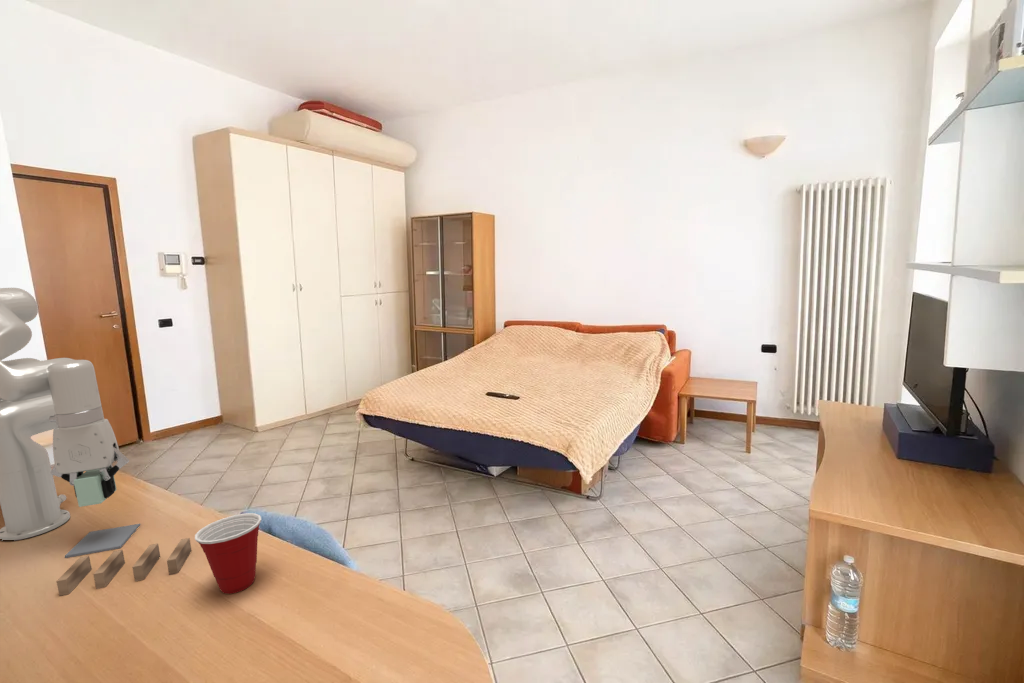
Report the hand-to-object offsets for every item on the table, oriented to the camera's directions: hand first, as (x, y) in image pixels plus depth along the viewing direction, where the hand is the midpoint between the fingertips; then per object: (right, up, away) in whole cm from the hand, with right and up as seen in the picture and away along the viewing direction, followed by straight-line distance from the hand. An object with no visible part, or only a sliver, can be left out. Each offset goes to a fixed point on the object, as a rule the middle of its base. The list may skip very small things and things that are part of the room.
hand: (97, 496), depth 108 cm
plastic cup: (+40, -12, -16) cm, 44 cm away
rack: (+15, -12, -10) cm, 22 cm away
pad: (0, -11, +2) cm, 11 cm away
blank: (0, -1, 0) cm, 1 cm away
